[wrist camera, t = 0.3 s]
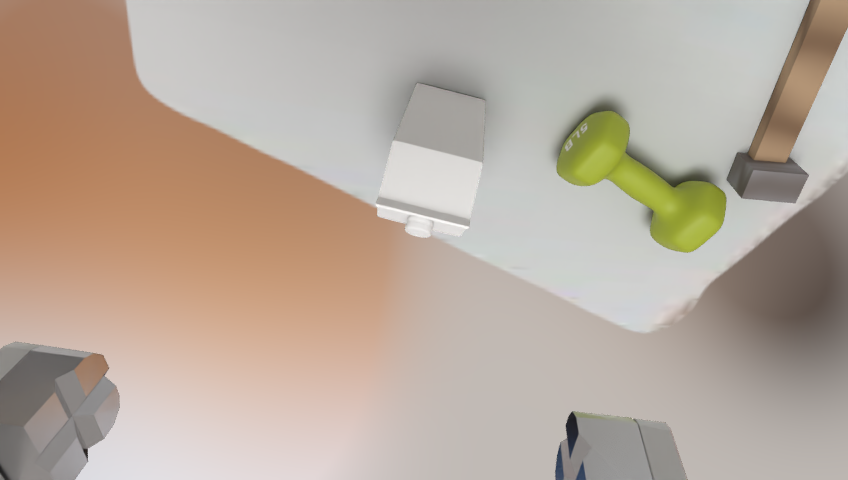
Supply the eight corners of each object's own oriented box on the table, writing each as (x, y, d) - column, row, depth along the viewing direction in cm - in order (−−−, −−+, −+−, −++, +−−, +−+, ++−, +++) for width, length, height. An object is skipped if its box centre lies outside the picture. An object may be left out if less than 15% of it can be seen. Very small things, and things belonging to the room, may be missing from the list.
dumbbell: (545, 153, 56) (551, 184, 50) (600, 91, 52) (614, 117, 46) (661, 234, 60) (680, 272, 54) (720, 182, 56) (747, 217, 50)
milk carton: (416, 81, 53) (383, 161, 38) (486, 99, 54) (482, 186, 38) (402, 146, 57) (367, 243, 41) (467, 162, 58) (457, 265, 42)
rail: (873, -190, 39) (908, -197, 36) (946, -186, 39) (988, -194, 35) (725, 181, 55) (740, 200, 52) (776, 186, 55) (794, 205, 52)
